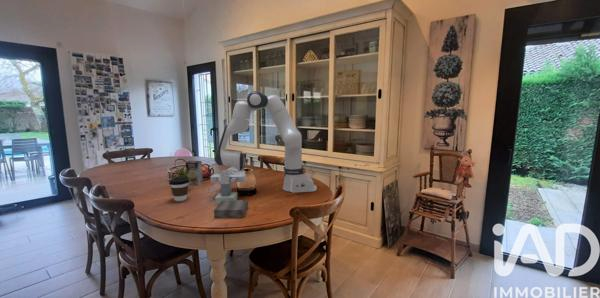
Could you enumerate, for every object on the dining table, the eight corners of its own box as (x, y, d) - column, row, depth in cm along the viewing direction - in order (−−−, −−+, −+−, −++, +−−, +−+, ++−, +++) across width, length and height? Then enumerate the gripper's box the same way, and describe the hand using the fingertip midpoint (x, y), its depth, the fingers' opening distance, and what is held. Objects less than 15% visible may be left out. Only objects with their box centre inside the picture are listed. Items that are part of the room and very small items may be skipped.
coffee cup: (184, 195, 171) (183, 176, 169) (194, 199, 164) (192, 179, 162) (167, 200, 163) (165, 180, 161) (176, 204, 156) (174, 183, 154)
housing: (231, 193, 161) (230, 169, 159) (229, 195, 157) (228, 171, 155) (223, 193, 161) (222, 169, 159) (221, 196, 157) (220, 171, 155)
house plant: (169, 189, 183) (167, 165, 181) (191, 186, 191) (189, 163, 188) (173, 195, 172) (171, 169, 169) (196, 191, 179) (195, 166, 177)
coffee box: (186, 185, 194) (184, 162, 192) (190, 182, 201) (189, 160, 198) (199, 185, 193) (197, 162, 191) (203, 182, 200) (201, 160, 197)
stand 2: (248, 207, 150) (247, 200, 149) (243, 217, 136) (242, 209, 136) (222, 207, 150) (221, 200, 149) (214, 217, 136) (214, 210, 135)
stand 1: (237, 198, 165) (237, 192, 164) (233, 204, 155) (233, 197, 154) (220, 198, 165) (220, 192, 164) (215, 204, 155) (215, 197, 154)
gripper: (213, 170, 170) (206, 176, 157) (247, 170, 170) (243, 175, 157) (214, 180, 171) (207, 187, 157) (247, 180, 171) (243, 186, 158)
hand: (225, 181), depth 157 cm, fingers closed on housing, 5 cm apart
